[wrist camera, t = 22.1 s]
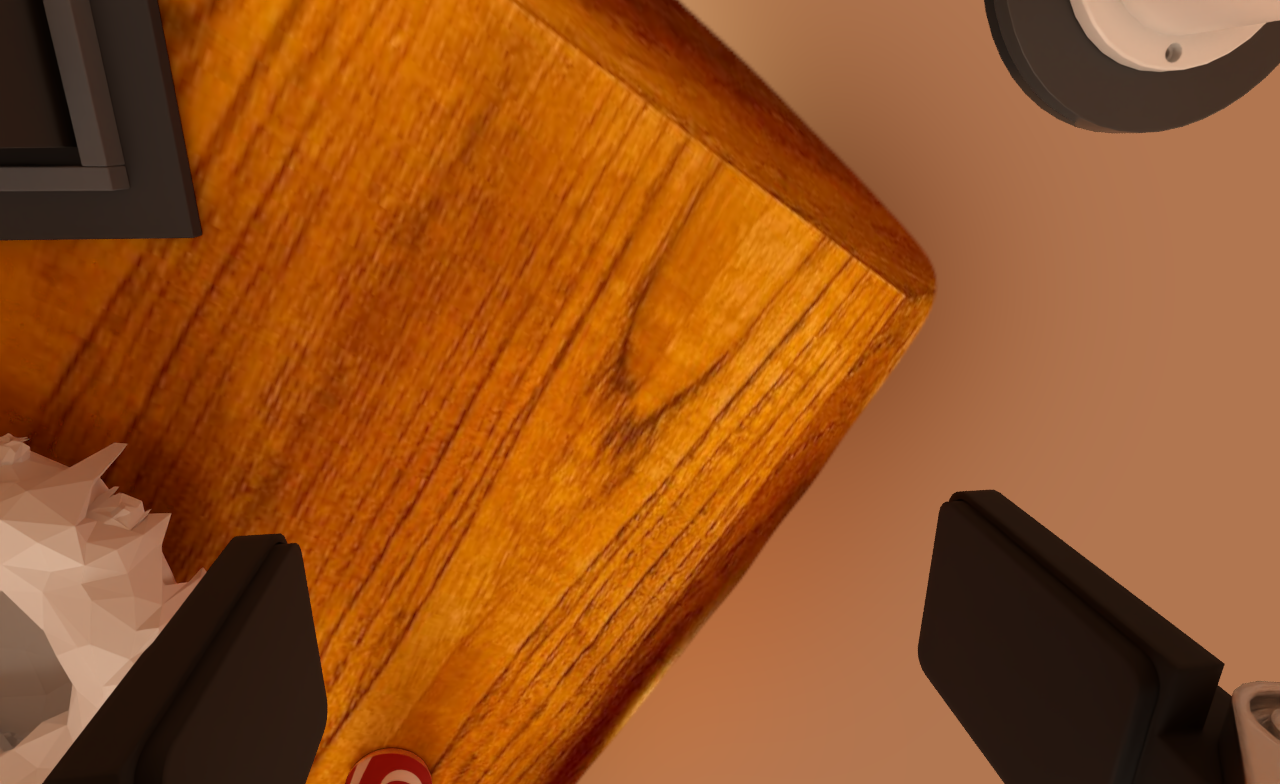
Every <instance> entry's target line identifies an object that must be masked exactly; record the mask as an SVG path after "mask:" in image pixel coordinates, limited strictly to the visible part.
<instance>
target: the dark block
mask: <svg viewBox="0 0 1280 784" xmlns="http://www.w3.org/2000/svg"><path fill="white" fill-rule="evenodd" d="M58 147H78V146H77V142H76V138H75V134H74V130H73V125H72V121H71V117H70V113H69V109H68V104H67V100H66V96H65V92H64V88H63V83H62V79H61V75H60V71H59V67H58V62H57V58H56V54H55V50H54V46H53V42H52V37H51V33H50V29H49V25H48V21H47V16H46V12H45V8H44V4H43V0H0V148H58Z"/></svg>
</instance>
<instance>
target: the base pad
mask: <svg viewBox="0 0 1280 784" xmlns="http://www.w3.org/2000/svg"><path fill="white" fill-rule="evenodd" d="M43 4H44V8H45V12H46V16H47V21H48V25H49V29H50V33H51V37H52V42H53V46H54V50H55V54H56V58H57V62H58V67H59V71H60V75H61V79H62V83H63V88H64V92H65V96H66V100H67V104H68V109H69V113H70V117H71V121H72V125H73V130H74V134H75V138H76V142H77V146H78V147H58V148H0V240H58V239H141V238H194V237H197V236H201V235H202V231H201V226H200V221H199V216H198V210H197V205H196V200H195V195H194V190H193V184H192V179H191V174H190V169H189V163H188V158H187V153H186V148H185V143H184V137H183V132H182V127H181V122H180V117H179V111H178V106H177V101H176V96H175V91H174V85H173V80H172V75H171V70H170V64H169V59H168V54H167V49H166V44H165V38H164V33H163V28H162V23H161V18H160V12H159V7H158V2H157V0H43Z"/></svg>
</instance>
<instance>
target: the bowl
mask: <svg viewBox="0 0 1280 784" xmlns="http://www.w3.org/2000/svg"><path fill="white" fill-rule="evenodd" d="M25 438H27V437H23V438H16V437H14V436H12V435H11V434H9V433H7V434H6V435H4V436H2V437H0V784H42V783H43V782H44V780H45V779H46V778H47V776H48V775H49V774H50V773H51V771H52V770H53V769H54V767H55V766H56V765H57V763H58V762H59V761H60V760H61V758H62V757H63V756H64V754H65V753H66V752H67V750H68V749H69V748H70V747H71V745H72V744H73V743H74V741H75V740H76V739H77V737H78V736H79V735H80V734H81V732H82V731H83V730H84V728H85V727H86V726H87V724H88V723H89V722H90V721H91V719H92V718H93V717H94V715H95V714H96V713H97V711H98V710H99V709H100V708H101V706H102V705H103V704H104V702H105V701H106V700H107V698H108V697H109V696H110V695H111V693H112V692H113V691H114V689H115V688H116V687H117V685H118V684H119V683H120V682H121V680H122V679H123V678H124V676H125V675H126V674H127V672H128V671H129V670H130V669H131V667H132V666H133V665H134V663H135V662H136V661H137V659H138V658H139V657H140V656H141V654H142V653H143V652H144V651H145V650H146V649H147V648H148V647H149V646H150V645H151V644H152V643H153V642H154V640H155V639H156V638H157V636H158V635H159V634H160V632H161V631H162V630H163V629H164V627H165V626H166V625H167V623H168V622H169V621H170V619H171V618H172V617H173V615H174V614H175V613H176V612H177V610H178V609H179V608H180V606H181V605H182V604H183V602H184V601H185V600H186V598H187V597H188V596H189V595H190V593H191V592H192V591H193V589H194V588H195V587H196V585H197V584H198V583H199V581H200V580H201V579H202V578H203V576H204V575H205V574H206V570H205V569H204V568H203V567H202V568H201V569H200V570H199V571H198V572H197V573H196V575H195V576H194V577H193V578H192V579H191V580H190V581H189V582H185V583H178V584H177V582H176V580H175V578H174V576H173V574H172V571H171V569H170V567H169V565H168V563H167V561H166V559H165V557H164V555H163V553H162V543H163V540H164V536H165V533H166V530H167V526H168V523H169V520H170V517H171V513H153V514H148V513H149V512H150V510H151V509H150V510H148V511H146V512H144V507H143V503H142V501H141V500H138V499H136V498H133V497H131V496H129V495H126V494H124V493H121V492H120V493H121V494H120V493H118V494H116V495H113V494H114V493H115V492H116V490H117V489H118V488H119V487H116V486H114V487H113V488H111V489H108V487H107V486H106V485H105V483H104V482H103V481H102V479H101V478H100V477H101V475H102V474H103V473H104V472H105V471H106V470H107V469H108V467H109V466H110V465H111V464H112V463H113V462H114V460H115V459H116V458H117V457H118V456H119V455H120V454H121V452H122V451H123V450H124V448H125V447H126V446H127V444H125V443H113V444H111V445H109V446H108V447H106V448H104V449H102V450H100V451H99V452H97V453H95V454H93V455H91V456H89V457H88V458H86V459H84V460H82V461H80V462H79V463H77V464H75V465H73V466H71V467H68V466H66V465H63V464H61V463H58V462H56V461H54V460H51V459H49V458H47V457H44V456H42V455H39V454H37V453H35V452H32V451H30V447H29V446H28V445H26V444H24V443H23V442H24V441H27V440H29V439H26V440H24V439H25Z"/></svg>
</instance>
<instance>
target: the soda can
mask: <svg viewBox="0 0 1280 784" xmlns="http://www.w3.org/2000/svg"><path fill="white" fill-rule="evenodd" d="M345 784H432V778H431V774H430V772H429V770H428V768H427V766H426V764H425V762H424V761H423V760H422V759H421V758H420V757H419V756H417V755H416V754H414V753H412V752H409V751H407V750H403V749H396V748H388V749H381V750H377V751H374V752H372V753H370V754H368V755H366V756H365V757H363V758H362V759H361V760H360V761H359V762H358V763H357V764H356V765H355V766H354V767H353V768H352V769H351V771H350V772H349V774H348V776H347V779H346V783H345Z"/></svg>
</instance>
